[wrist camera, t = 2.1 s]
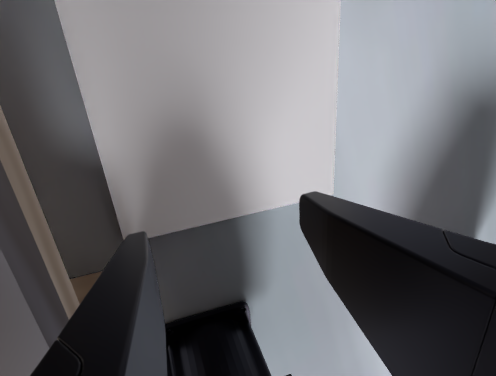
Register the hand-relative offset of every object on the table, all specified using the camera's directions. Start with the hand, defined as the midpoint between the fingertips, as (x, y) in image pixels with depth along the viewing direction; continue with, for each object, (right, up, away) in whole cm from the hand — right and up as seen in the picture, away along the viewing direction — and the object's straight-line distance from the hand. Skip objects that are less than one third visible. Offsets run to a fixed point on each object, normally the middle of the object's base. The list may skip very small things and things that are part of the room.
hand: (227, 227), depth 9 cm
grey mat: (-1, +8, +11) cm, 13 cm away
